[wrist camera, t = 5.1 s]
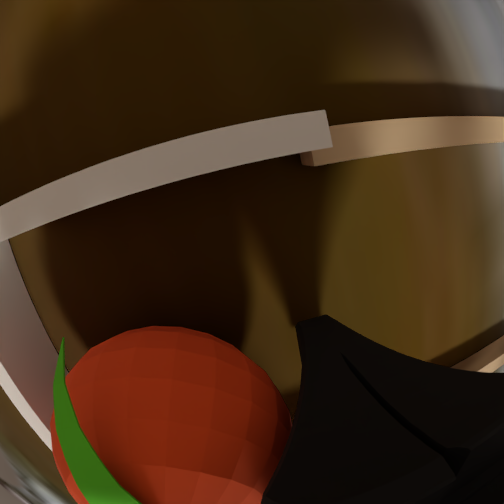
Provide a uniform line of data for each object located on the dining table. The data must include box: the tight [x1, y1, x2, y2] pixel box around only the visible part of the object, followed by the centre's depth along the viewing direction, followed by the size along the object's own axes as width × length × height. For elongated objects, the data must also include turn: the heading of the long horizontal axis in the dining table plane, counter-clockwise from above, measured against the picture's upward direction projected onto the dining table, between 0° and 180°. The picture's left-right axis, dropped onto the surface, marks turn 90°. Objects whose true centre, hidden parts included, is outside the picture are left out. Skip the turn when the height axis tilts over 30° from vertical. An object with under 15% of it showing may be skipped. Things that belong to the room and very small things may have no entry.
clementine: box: [50, 326, 292, 504], centre depth 7 cm, size 8×7×7 cm
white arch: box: [0, 110, 333, 452], centre depth 9 cm, size 11×14×3 cm
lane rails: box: [300, 116, 504, 373], centre depth 10 cm, size 12×13×1 cm
